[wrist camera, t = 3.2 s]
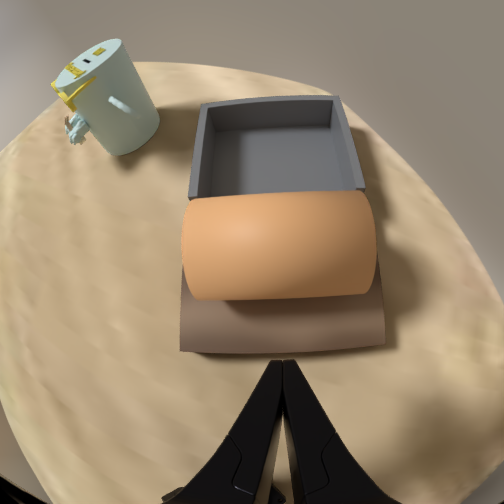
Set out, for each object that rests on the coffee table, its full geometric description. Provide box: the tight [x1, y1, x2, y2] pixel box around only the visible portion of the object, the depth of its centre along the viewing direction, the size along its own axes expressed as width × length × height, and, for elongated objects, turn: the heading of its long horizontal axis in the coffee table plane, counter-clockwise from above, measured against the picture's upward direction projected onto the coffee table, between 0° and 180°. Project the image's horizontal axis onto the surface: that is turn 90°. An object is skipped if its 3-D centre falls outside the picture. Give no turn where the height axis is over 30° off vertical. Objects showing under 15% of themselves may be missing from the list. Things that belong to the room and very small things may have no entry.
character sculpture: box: [51, 39, 160, 156], centre depth 26 cm, size 20×12×13 cm, turn 45°
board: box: [180, 255, 386, 353], centre depth 23 cm, size 12×16×2 cm
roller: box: [182, 190, 377, 301], centre depth 18 cm, size 11×7×7 cm, turn 90°
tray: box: [188, 95, 366, 201], centre depth 26 cm, size 12×15×4 cm
